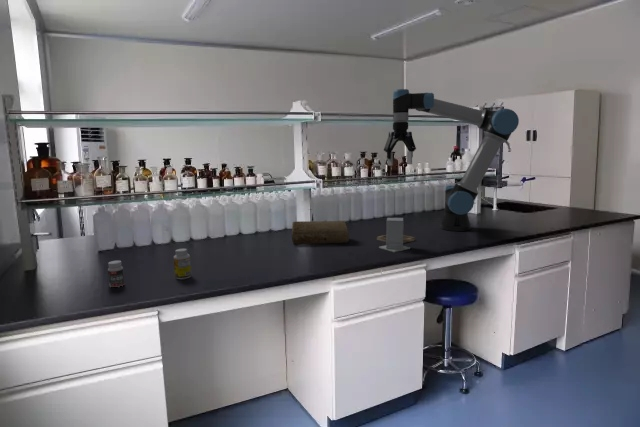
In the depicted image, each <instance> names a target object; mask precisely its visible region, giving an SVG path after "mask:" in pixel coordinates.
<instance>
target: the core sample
mask: <svg viewBox="0 0 640 427" xmlns="http://www.w3.org/2000/svg"><path fill="white" fill-rule="evenodd" d="M347 227H348V226H347V223H346V220H328V221H324V220H323V221H321V220H320V221H317V220H316V221H311V220H310V221H309V220H308V221H304V220H303V221H298V220H297V221H293V222H292V228H291V240H292V243H293V245H317V244H318V245H319V244H340V243H341V244H342V243H343V244H344V243H347V244H348V243H349V240H350V236H349V231H348V230H349V229H348V228H347Z"/></svg>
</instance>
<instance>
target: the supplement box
mask: <svg viewBox="0 0 640 427" xmlns="http://www.w3.org/2000/svg"><path fill="white" fill-rule="evenodd" d="M404 223H405V221H404V217H387V218H386V227H385V228H386V230H385V231H386V234H385V235H386V242H385V245H386V249H403V246H404V243H403V239H404V238H403V235H404V228H405V227H404V226H405V225H404Z"/></svg>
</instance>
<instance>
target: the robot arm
mask: <svg viewBox="0 0 640 427" xmlns="http://www.w3.org/2000/svg"><path fill="white" fill-rule="evenodd" d="M409 110H415V111H418V112H424V113H428V114H433V115H436V116H439V117H444V118H447V119H452V120H455V121H458V122H462V123H465V124H466V123H467V124H470V125H474V126H477V128H478V129H481V130H483V134H484V137H483V139H482V141H481V142H480V145H479V146H478V148H477V150H476V152H475V153H474V156H473V157H472V159H471V161H470V163H469V165H468V167H467V169H466V171H465V173H464V175H463V177H462V178H461V179H460V181H457V182H455V184H454V185H446V187H445V191H444V195H445V196H444V198H445V199H444V215H443V217H442V219H441V223H440V229H442V230H445V231H450V232H451V231H452V232H465V231H470V230H471V228H472V226H471V221H470V218H469V215H468V213H469V212H471V211H472V209H473V208H474V204H475V200H476V198H477V196H478V195H479V191H478V188H479V186H480V184H481V182H482V181H483V179H484V177H485V175H486V173H487V171H488V170H489V168H490V166H491V165H492V163H493V161H494V159H495V158H496V155H497V153H498V151H499V150H500V148H501V146H502V144H505V143H507V142H508V140H509V139H510V137H511V135H512V133H514V132H515V131H516V130H517V128H518V126H519V124H520V122H519V121H520V119H519V116H518V114H517V113H516V111H514V110H513V109H510V108H499V109H498V110H490V109H486V108H484V109H483V110H481V109H477V108H473V107H470V106H465V105H461V104H457V103H453V102H450V101H445V100H441V99H437V98H435V94H434V93H433V92H415V93H410V91H409V89H407V88H399V89H395V90H394V91H393V98H392V121H393V123H392V130H393V131H389V132H388V136H387V138H386V142H385V145H384V147H383V152H384V153H386V159H387V166H391V167H392V166H393V165H394V161H393V160H394V158H393V157H394V155H393V154H394V153H393V149H395V146H396V145H397V143H398V142H403V144H404V146H405V147H406V149H407V152H406V156H407V157H406V164H407V165H412V164H413V156H414V152H415V151H416V150H417V146H416V144H415V141H414V139H413V132H412V131H408V130H409V122H408V121H409ZM393 115H394V117H393Z"/></svg>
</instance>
